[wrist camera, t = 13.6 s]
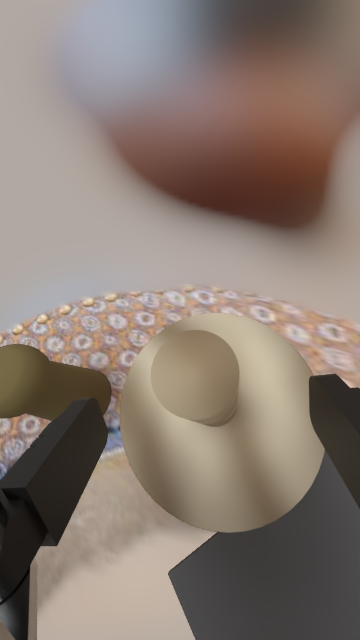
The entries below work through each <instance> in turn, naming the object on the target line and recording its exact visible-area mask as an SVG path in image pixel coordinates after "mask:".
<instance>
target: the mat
mask: <svg viewBox="0 0 360 640" xmlns="http://www.w3.org/2000/svg"><path fill="white" fill-rule="evenodd" d="M168 575H169V578H170V580H171V582H172V585H173V587H174V589H175V592H176V594H177V597H178V599H179V601H180V604H181V606H182V609H183V611H184V613H185V616H186V618H187V620H188V623H189V625H190V627H191V630H192V632H193V634H194V637H195V639H196V640H360V509H359V507H358V505H357V504H356V502H355V500H354V499H353V497H352V495H351V493H350V492H349V490H348V488H347V486H346V485H345V483H344V481H343V480H342V478H341V476H340V474H339V473H338V471H337V469H336V467H335V466H334V464H333V462H332V461H331V459H330V457H329V455H328V454H327V452H326V450H325V451H324V456H323V459H322V462H321V465H320V469H319V471H318V473H317V475H316V477H315V479H314V481H313V483H312V485H311V487H310V488H309V490H308V491H307V492H306V494H305V495H304V497H303V498H302V499H301V500H300V501H299V502H298V503H297V504H296V505H295V506H294V507H293V508H292V509H291V510H290V511H289V512H287V513H286V514H285V515H283V516H282V517H280V518H279V519H277V520H276V521H273V522H271V523H269V524H267V525H265V526H263V527H260V528H256V529H252V530H248V531H243V532H231V533H227V532H217V533H216V534H214V535H213V536H212V537H211V538H210V539H208V540H207V541H206V542H205V543H203V544H202V545H201V546H200V547H198V548H197V549H196V550H195V551H194V552H192V553H191V554H190V555H189V556H188V557H186V558H185V559H184V560H182V561H181V562H180V563H179V564H178V565H176V566H175V567H174V568H173V569H171V570H170V571H169V573H168Z"/></svg>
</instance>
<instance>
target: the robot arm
mask: <svg viewBox="0 0 360 640" xmlns="http://www.w3.org/2000/svg"><path fill="white" fill-rule="evenodd" d="M309 414H310V419H311V423H312V426H313V429H314V431H315V433H316V435H317V436H318V438H319V440H320V441H321V443H322V445H323V447H324V448H325V450H326V452H327V454H328V455H329V457H330V459H331V461H332V462H333V464H334V466H335V467H336V469H337V471H338V473H339V474H340V476H341V478H342V480H343V481H344V483H345V485H346V486H347V488H348V490H349V492H350V493H351V495H352V497H353V499H354V500H355V502H356V504H357V505H358V507H359V509H360V389H359V388H350V387H349V386H348V385H347V384H346V383H345V382H344V381H343V380H342V379H341V378H340V377H339V376H338V375H336V374H327V375H317V376H310V378H309ZM107 438H108V431H107V426H106V424H105V421H104V418H103V415H102V412H101V409H100V407H99V404H98V401H97V400H96V399H95V398H84V399H75V400H73V401H72V402H71V404H70V405H69V406H68V407H67V408H66V410H65V411H64V412H63V413H62V414H61V415H60V416H58V417H57V418H56V419H54V420H53V421H52V422H51V423H49V424H48V425H47V427H46V428H45V429H44V430H43V431H42V432H41V434H40V435H39V438H36V440H35V441H34V442H33V443H32V444H31V445H30V448H28V449H27V450H26V451H25V452H24V454H23V455H22V456H21V457H20V458H19V460H18V461H17V462H16V463H15V464H14V465H13V467H12V468H11V469H10V470H9V471H8V472H7V474H6V475H5V476H4V477H3V478H2V480H1V481H0V640H37V561H36V559H35V555H36V553H37V552H38V550H39V548H40V546H57V545H58V543H59V541H60V539H61V537H62V535H63V533H64V531H65V528H66V526H67V524H68V522H69V520H70V518H71V516H72V514H73V512H74V510H75V508H76V506H77V504H78V502H79V499H80V497H81V495H82V493H83V491H84V489H85V487H86V485H87V483H88V481H89V479H90V477H91V475H92V473H93V470H94V468H95V466H96V464H97V462H98V460H99V458H100V456H101V454H102V452H103V450H104V448H105V446H106V443H107Z"/></svg>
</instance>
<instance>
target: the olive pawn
mask: <svg viewBox="0 0 360 640" xmlns="http://www.w3.org/2000/svg"><path fill="white" fill-rule="evenodd" d="M84 398H95V399H96V400H97V401H98V404H99V407H100V409H101V412H102V415H103V414H104V413H105V411H106V410H107V408H108V405H109V403H110V399H111V387H110V382H109V381H108V379H107V377H106V376H105V375H104V374H103V373H101V372H100V371H96V370H92V369H87V368H83V367H78V366H73V365H68V364H63V363H58V362H53V361H49V359H48V357H47V356H45V355H44V354H43V353H42V352H41V351H40V350H38V349H36V348H34V347H32V346H28V345H23V344H12V345H6V346H2V347H0V418H13V417H17V416H20V415H23V414H25V413H27V414H30V415H34V416H37V417H40V418H44V419H47V420H51V421H53V420H54V419H56V418H57V417H58V416H60V415H61V414H62V413H63V412H64V411H65V410H66V408H67V407H68V406H69V405H70V404H71V402H72V401H73V400H75V399H84Z"/></svg>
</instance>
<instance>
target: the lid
mask: <svg viewBox="0 0 360 640" xmlns="http://www.w3.org/2000/svg"><path fill="white" fill-rule="evenodd" d="M310 376H314V375H313V373H312V371H311V369H310V367H309V366H308V364H307V363H306V361H305V360H304V359H303V357H302V356H301V354H300V353H299V352H298V351H297V350H296V349H295V348H294V347H293V345H292V344H291V343H289V342H288V341H287V340H286V339H285V338H284V337H283V336H281V335H280V334H279V333H277V332H276V331H274V330H273V329H271V328H270V327H268V326H266V325H264V324H262V323H260V322H258V321H255V320H253V319H250V318H247V317H243V316H239V315H234V314H227V313H208V314H201V315H196V316H192V317H189V318H186V319H183V320H180V321H178V322H176V323H174V324H172V325H170V326H169V327H167V328H165V329H164V330H162V331H161V332H160V333H158V334H157V335H156V336H155V337H154V338H153V339H152V340H151V341H150V342H149V343H148V344H147V345H146V346H145V347H144V348H143V350H142V351H141V352H140V353H139V355H138V356H137V358H136V360H135V361H134V363H133V365H132V367H131V369H130V371H129V373H128V375H127V378H126V381H125V384H124V388H123V392H122V396H121V404H120V429H121V437H122V441H123V446H124V450H125V453H126V456H127V458H128V461H129V464H130V466H131V468H132V470H133V472H134V474H135V476H136V478H137V479H138V480H139V482H140V483H141V485H142V486H143V488H144V489H145V491H146V492H147V493H148V494H149V495H150V496H151V497H152V498H153V499H154V501H155V502H156V503H158V504H159V505H160V506H161V507H162V508H163V509H165V510H166V511H167V512H168V513H170V514H172V515H173V516H175V517H176V518H178V519H180V520H181V521H183V522H186V523H188V524H190V525H193V526H195V527H198V528H202V529H206V530H209V531H215V532H227V533H231V532H243V531H248V530H252V529H256V528H260V527H263V526H265V525H267V524H269V523H271V522H273V521H276V520H277V519H279V518H280V517H282V516H283V515H285V514H286V513H287V512H289V511H290V510H291V509H292V508H293V507H294V506H295V505H296V504H297V503H298V502H299V501H300V500H301V499H302V498H303V497H304V495H305V494H306V492H307V491H308V490H309V488H310V487H311V485H312V483H313V481H314V479H315V477H316V475H317V473H318V471H319V469H320V465H321V462H322V459H323V456H324V451H325V448H324V447H323V445H322V443H321V441H320V440H319V438H318V436H317V435H316V433H315V431H314V429H313V426H312V423H311V419H310V414H309V378H310Z"/></svg>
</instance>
